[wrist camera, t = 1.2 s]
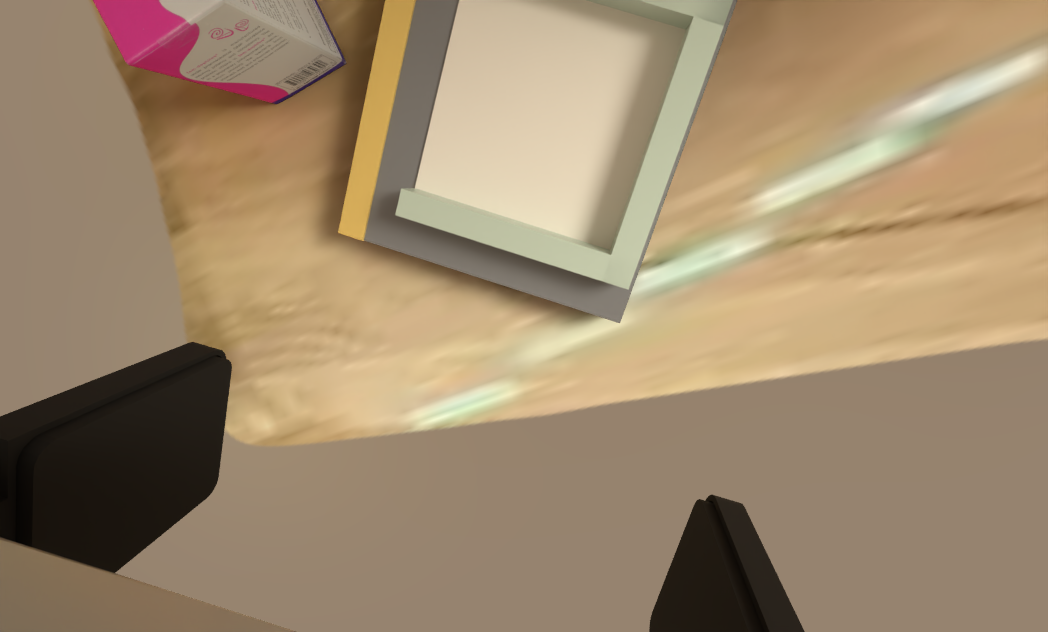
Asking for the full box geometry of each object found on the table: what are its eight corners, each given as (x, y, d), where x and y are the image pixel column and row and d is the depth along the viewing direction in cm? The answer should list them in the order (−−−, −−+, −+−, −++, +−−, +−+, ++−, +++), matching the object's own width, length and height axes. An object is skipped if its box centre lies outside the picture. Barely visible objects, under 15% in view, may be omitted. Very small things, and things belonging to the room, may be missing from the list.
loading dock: (431, -110, 31) (398, -170, 26) (737, -21, 30) (768, -65, 25) (359, 228, 36) (319, 236, 31) (617, 311, 35) (622, 334, 30)
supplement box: (302, -31, 33) (154, -139, 22) (349, 64, 34) (230, 6, 23) (227, 17, 34) (51, -62, 23) (274, 107, 35) (127, 73, 24)
